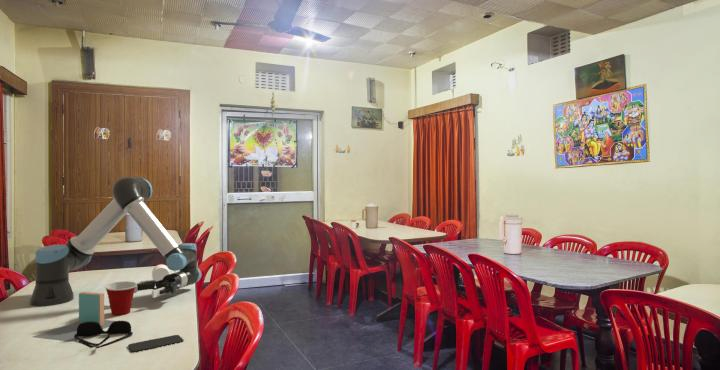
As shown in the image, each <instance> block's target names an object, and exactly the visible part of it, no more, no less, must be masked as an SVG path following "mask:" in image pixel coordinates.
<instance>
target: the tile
mask: <svg viewBox="0 0 720 370" xmlns="http://www.w3.org/2000/svg"><path fill="white" fill-rule="evenodd" d="M104 320H105V293H104V292H93V291H82V292H79V293H78V321H79V324H81V323H83V322H88V321H94V322H98V323H99V324H100V325H101V326H102V325H104Z"/></svg>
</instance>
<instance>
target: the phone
mask: <svg viewBox="0 0 720 370" xmlns="http://www.w3.org/2000/svg"><path fill="white" fill-rule="evenodd" d="M180 342H181V343H183V342H184V339H183V338H182V336H180V335H179V334H174V335H173V334H172V335H170V336H163V337H158V338H154V339H149V340H147V339H146V340H142V341H136V342H132V343H130V344H127V345H128V346H127V348H128V347H129V348H128V349H129V351H130V352H131V353H132V352H136V353H139V351H141V352H144V351H143V350H145V351H149V349H150V350H154V349H158V347H159V348H163V347H167V345H168V346H172V345H176V344H175V343H177V344H180ZM171 344H172V345H171ZM162 346H163V347H162Z"/></svg>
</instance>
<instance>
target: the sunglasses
mask: <svg viewBox="0 0 720 370" xmlns="http://www.w3.org/2000/svg"><path fill="white" fill-rule="evenodd" d="M113 321H114V322H113V323H111V325H110V326H109V327H107V330H104V329H102V327H101V325H100V324H99V323H98V322H94V321H88V322H83V323H81V324H79V326H78V328H77V334H75V335H74V338H76V340H78V343H79V344H81V345H83V346H86V347H88V348H90V349H93V348H96V349H99V348H102V347H106V346H109V345H111V344H114V343H117V342H119V341H123V340H124V339H127V338H129V337H131V336H133V334H134V333H133V332H132V324H131V323H130V322H129V321H127V320H113ZM101 335H107V336H106V337H105V338H104V339H102V340H101V341H100V342H99V343H95V342H94V343H93V342H91V341H87V340H86V339H83V338H86V337H87V338H89V337H97V336H101ZM111 335H124V336H122V337H119V338H117V339H114V340H112V341H110V342H107V343H105V342H106V341H108V340H109V339H110V338H111ZM79 337H81V338H79Z"/></svg>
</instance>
